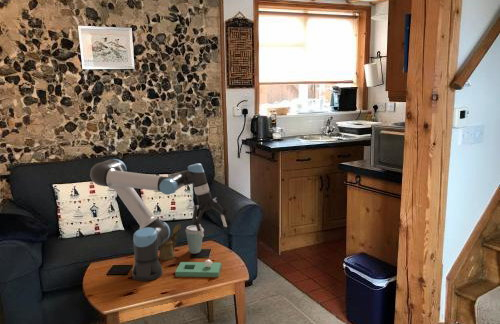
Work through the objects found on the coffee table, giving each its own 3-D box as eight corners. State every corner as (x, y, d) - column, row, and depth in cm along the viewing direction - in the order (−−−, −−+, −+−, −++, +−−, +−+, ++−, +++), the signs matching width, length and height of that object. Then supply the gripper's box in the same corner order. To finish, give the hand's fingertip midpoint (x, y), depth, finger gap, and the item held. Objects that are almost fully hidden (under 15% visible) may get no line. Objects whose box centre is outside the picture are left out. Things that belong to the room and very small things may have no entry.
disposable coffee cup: (198, 246, 248) (197, 222, 246) (208, 251, 240) (207, 227, 237) (182, 251, 241) (181, 226, 239) (192, 256, 233) (191, 231, 231)
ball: (203, 268, 212) (203, 261, 211) (205, 265, 216) (204, 258, 215) (211, 268, 211) (211, 261, 211) (212, 265, 215) (212, 258, 215)
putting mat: (175, 276, 209) (175, 271, 209) (180, 266, 221) (180, 262, 220) (218, 277, 208) (218, 272, 207) (221, 266, 220) (221, 262, 219)
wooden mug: (184, 256, 235) (183, 225, 231) (162, 261, 227) (160, 230, 224) (178, 251, 242) (177, 221, 239) (156, 256, 235) (154, 226, 232)
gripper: (183, 201, 203) (195, 241, 206) (226, 185, 214) (237, 223, 217) (178, 200, 210) (190, 239, 212) (220, 185, 221) (231, 222, 224)
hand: (214, 231), depth 215 cm, fingers open, 13 cm apart
